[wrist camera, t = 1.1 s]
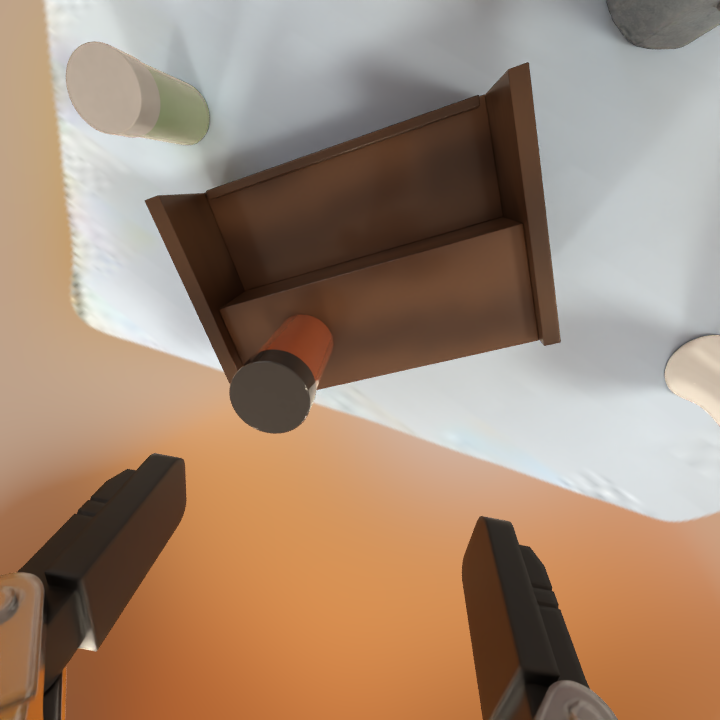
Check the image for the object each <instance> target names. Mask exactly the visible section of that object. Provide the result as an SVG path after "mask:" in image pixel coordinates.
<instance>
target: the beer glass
mask: <svg viewBox="0 0 720 720" xmlns="http://www.w3.org/2000/svg"><path fill="white" fill-rule="evenodd" d="M665 382H666V384H667V386H668V388H669V389H670V390H671V391H672V392H673V393H674V394H676V395H677V396H679V397H681V398H683V399H686V400H688V401H690V402H692V403H695V404H697V405H698V406H700V407H701V408H703V409H704V410H705V411H706V412H707V413H708V414H709V415H710V416H711V417H712V418H713V419H714V421H715V422H716V423H717V424H718V425H719V426H720V335H708V336H703V337H699V338H696V339H694V340H691V341H689V342H688V343H686V344H684V345H683V346H681V347H680V348H679V349H678V350H677V351H676V352H675V353H674V354H673V355H672V356H671V358H670V359H669V361H668V363H667V365H666V368H665Z"/></svg>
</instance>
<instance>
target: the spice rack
mask: <svg viewBox="0 0 720 720" xmlns="http://www.w3.org/2000/svg"><path fill="white" fill-rule="evenodd" d="M145 202H146V205H147V207H148V209H149V211H150V213H151V215H152V217H153V220H154V222H155V224H156V226H157V228H158V230H159V233H160V235H161V237H162V239H163V241H164V243H165V245H166V248H167V250H168V252H169V254H170V256H171V258H172V261H173V263H174V265H175V267H176V269H177V271H178V273H179V276H180V278H181V280H182V282H183V284H184V286H185V289H186V291H187V293H188V295H189V297H190V299H191V301H192V304H193V306H194V308H195V310H196V312H197V314H198V316H199V319H200V321H201V323H202V325H203V327H204V329H205V332H206V334H207V336H208V338H209V340H210V342H211V344H212V347H213V349H214V351H215V353H216V355H217V357H218V360H219V362H220V364H221V366H222V368H223V370H224V372H225V375H226V377H227V379H228V381H229V383H230V384H231V381H232V379H233V377H234V375H235V374H236V372H237V371H238V370H239V369H240V368H241V367H242V366H243V364H244V363H245V362H246V361H247V360H248V359H249V358H250V357H251V356H253V355H254V354H256V352H257V351H258V350H259V349H260V348H261V347H262V346H263V344H264V343H265V342H266V341H267V340H268V339H269V337H270V336H271V335H272V334H273V333H274V332H275V331H276V329H277V328H278V327H279V326H280V325H281V324H282V323H283V322H284V321H285V320H286V319H287V318H289V317H292V316H295V315H309V316H313V317H315V318H317V319H319V320H320V321H322V322H323V323H324V324H325V325H326V326H327V328H328V329H329V331H330V332H331V335H332V338H333V351H332V354H331V356H330V358H329V361H328V363H327V366H326V368H325V370H324V373H323V375H322V377H321V380H320V382H319V385H318V387H317V389H316V390H318V389H323V388H327V387H332V386H336V385H341V384H345V383H350V382H354V381H359V380H363V379H368V378H372V377H376V376H381V375H385V374H390V373H394V372H399V371H403V370H408V369H412V368H417V367H421V366H426V365H430V364H435V363H439V362H444V361H448V360H452V359H457V358H461V357H466V356H470V355H475V354H479V353H484V352H488V351H493V350H497V349H502V348H506V347H511V346H515V345H520V344H524V343H529V342H533V341H537V340H540V341H541V343H542V344H543V345H544V346H546V345H551V344H555V343H560V342H561V340H560V331H559V322H558V313H557V305H556V296H555V287H554V279H553V270H552V261H551V252H550V244H549V235H548V226H547V217H546V209H545V200H544V191H543V183H542V174H541V165H540V156H539V148H538V139H537V130H536V121H535V113H534V104H533V95H532V87H531V78H530V69H529V63H528V62H527V63H525V64H522V65H519V66H516V67H513V68H511V69H508V70H507V71H506V72H505V74H504V75H503V76H502V77H501V78H500V79H499V80H498V81H497V82H496V83H495V84H494V85H493V87H492V88H491V89H490V90H489V91H488V92H487V93H486V94H485V95H482V96H479V95H477V96H474V97H471V98H468V99H465V100H462V101H460V102H457V103H454V104H451V105H448V106H445V107H443V108H440V109H437V110H434V111H431V112H428V113H426V114H423V115H420V116H417V117H414V118H411V119H409V120H406V121H403V122H400V123H397V124H394V125H392V126H389V127H386V128H383V129H380V130H377V131H375V132H372V133H369V134H366V135H363V136H360V137H358V138H355V139H352V140H349V141H346V142H343V143H341V144H338V145H335V146H332V147H329V148H326V149H324V150H321V151H318V152H315V153H312V154H309V155H307V156H304V157H301V158H298V159H295V160H292V161H290V162H287V163H284V164H281V165H278V166H275V167H273V168H270V169H267V170H264V171H261V172H258V173H256V174H253V175H250V176H247V177H244V178H241V179H238V180H236V181H233V182H230V183H227V184H224V185H221V186H219V187H216V188H213V189H210V190H207V191H206V193H197V194H178V195H158V196H155V197H153V198H150V199H147V200H145Z"/></svg>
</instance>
